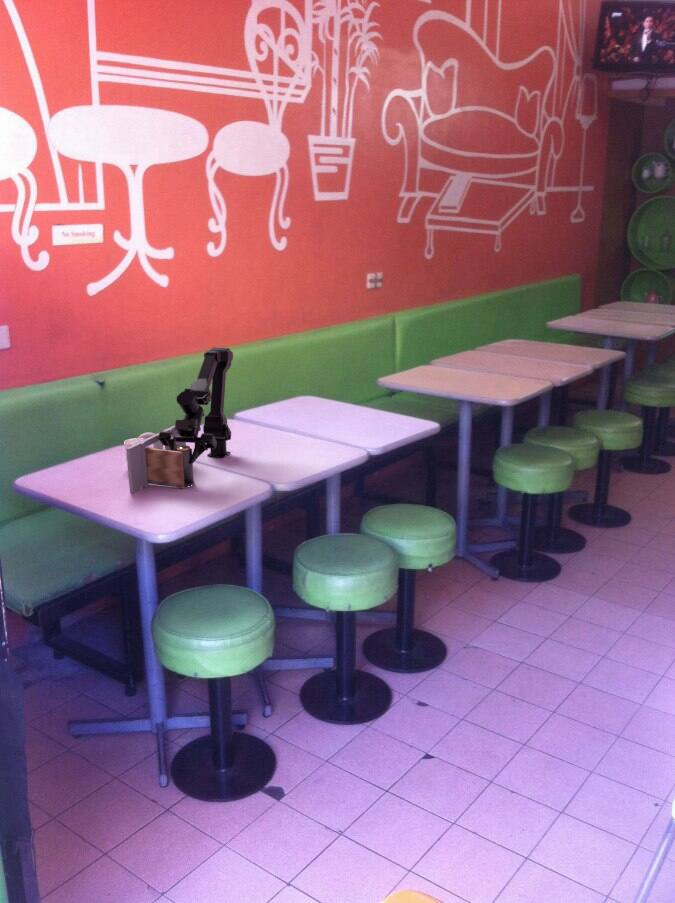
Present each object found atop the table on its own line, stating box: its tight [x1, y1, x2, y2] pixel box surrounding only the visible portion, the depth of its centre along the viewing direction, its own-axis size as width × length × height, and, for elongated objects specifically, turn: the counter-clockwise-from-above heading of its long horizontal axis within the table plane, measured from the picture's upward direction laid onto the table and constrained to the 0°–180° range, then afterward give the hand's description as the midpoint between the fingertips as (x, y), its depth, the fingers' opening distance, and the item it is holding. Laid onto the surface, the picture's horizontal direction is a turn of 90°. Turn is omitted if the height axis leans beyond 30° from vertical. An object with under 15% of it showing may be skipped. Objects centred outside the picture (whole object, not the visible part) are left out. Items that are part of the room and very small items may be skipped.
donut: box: [137, 431, 164, 450], centre depth 308 cm, size 10×3×10 cm, turn 94°
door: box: [145, 447, 186, 489], centre depth 278 cm, size 14×1×12 cm, turn 70°
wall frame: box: [126, 424, 187, 494], centre depth 288 cm, size 34×2×15 cm, turn 159°
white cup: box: [123, 437, 148, 468], centre depth 297 cm, size 8×8×10 cm
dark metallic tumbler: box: [175, 445, 195, 488], centre depth 281 cm, size 6×6×13 cm
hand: (182, 462), depth 279 cm, fingers open, 6 cm apart
